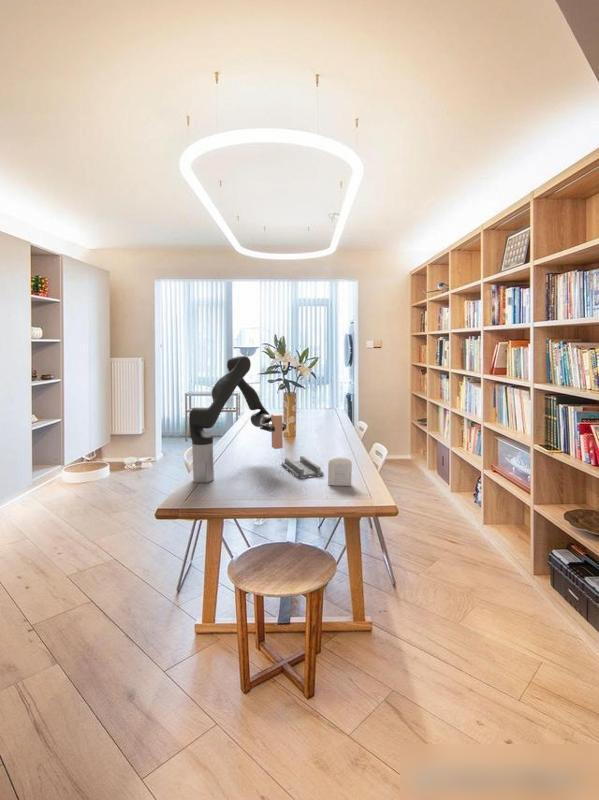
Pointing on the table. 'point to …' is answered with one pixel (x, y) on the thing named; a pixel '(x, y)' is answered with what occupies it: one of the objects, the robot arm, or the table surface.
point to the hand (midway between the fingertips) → (278, 429)
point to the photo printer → (339, 471)
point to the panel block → (277, 431)
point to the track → (302, 467)
